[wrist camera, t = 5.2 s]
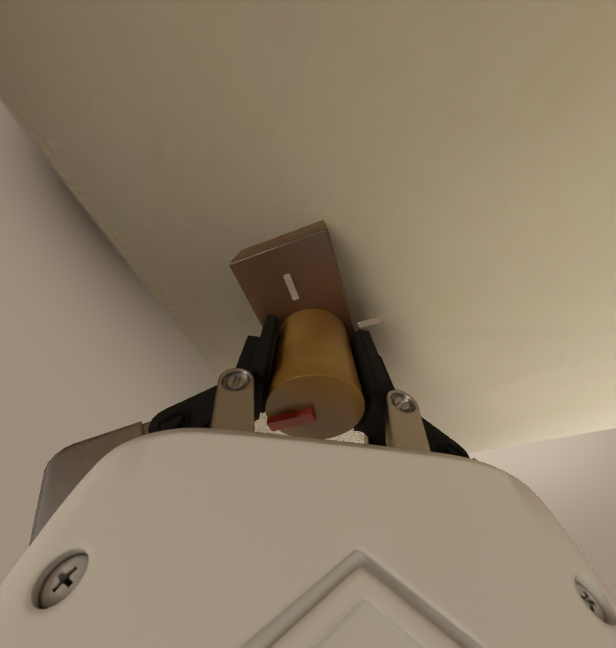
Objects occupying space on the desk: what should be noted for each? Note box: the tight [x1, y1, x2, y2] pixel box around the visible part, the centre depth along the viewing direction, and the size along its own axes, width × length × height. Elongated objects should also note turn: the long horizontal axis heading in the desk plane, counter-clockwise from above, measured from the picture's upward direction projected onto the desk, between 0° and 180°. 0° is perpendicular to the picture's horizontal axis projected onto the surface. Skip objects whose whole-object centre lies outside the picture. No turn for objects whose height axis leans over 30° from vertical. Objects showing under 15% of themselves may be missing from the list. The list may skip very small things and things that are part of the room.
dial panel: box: [229, 221, 384, 343], centre depth 14 cm, size 11×8×3 cm
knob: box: [265, 308, 365, 439], centre depth 11 cm, size 4×4×5 cm
